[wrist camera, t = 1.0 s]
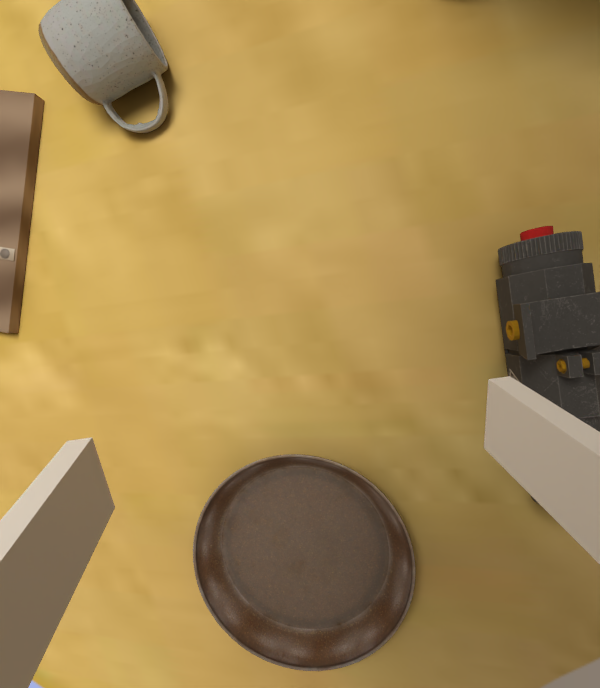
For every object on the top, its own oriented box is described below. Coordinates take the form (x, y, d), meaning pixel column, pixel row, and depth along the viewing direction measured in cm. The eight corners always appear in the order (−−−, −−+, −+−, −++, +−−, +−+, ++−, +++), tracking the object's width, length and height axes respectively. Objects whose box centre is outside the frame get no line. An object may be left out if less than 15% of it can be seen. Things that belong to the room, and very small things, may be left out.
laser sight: (494, 487, 35) (551, 551, 26) (462, 248, 35) (509, 217, 25) (607, 477, 34) (714, 540, 24) (577, 229, 34) (674, 188, 24)
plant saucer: (277, 678, 39) (271, 711, 36) (166, 510, 40) (150, 527, 36) (452, 582, 36) (462, 608, 33) (330, 403, 37) (329, 411, 34)
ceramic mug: (77, 60, 38) (10, -5, 30) (145, 14, 37) (94, -64, 29) (124, 154, 38) (70, 114, 31) (194, 112, 37) (155, 59, 30)
